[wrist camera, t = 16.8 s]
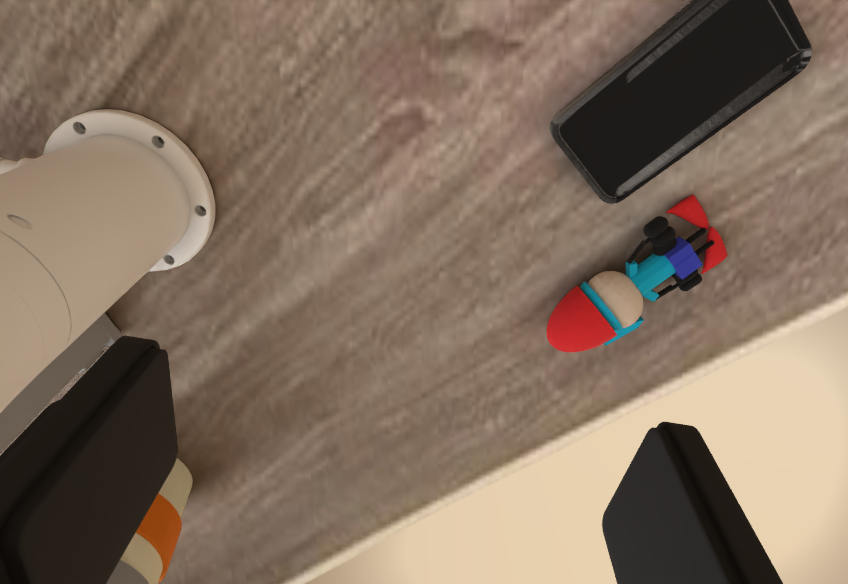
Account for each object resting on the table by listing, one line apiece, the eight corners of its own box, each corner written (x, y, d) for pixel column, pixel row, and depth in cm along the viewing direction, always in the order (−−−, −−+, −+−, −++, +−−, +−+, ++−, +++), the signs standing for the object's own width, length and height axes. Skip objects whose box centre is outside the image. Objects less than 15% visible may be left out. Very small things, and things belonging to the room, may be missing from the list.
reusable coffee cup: (227, 505, 59) (165, 650, 46) (129, 516, 61) (42, 659, 48) (177, 425, 53) (89, 567, 40) (69, 441, 55) (-48, 581, 42)
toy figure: (675, 180, 39) (516, 301, 43) (716, 200, 35) (536, 333, 38) (714, 248, 43) (564, 355, 46) (755, 274, 38) (587, 390, 42)
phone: (818, 59, 32) (609, 210, 38) (807, 57, 33) (605, 204, 39) (761, -52, 30) (544, 127, 35) (751, -51, 31) (542, 123, 36)
